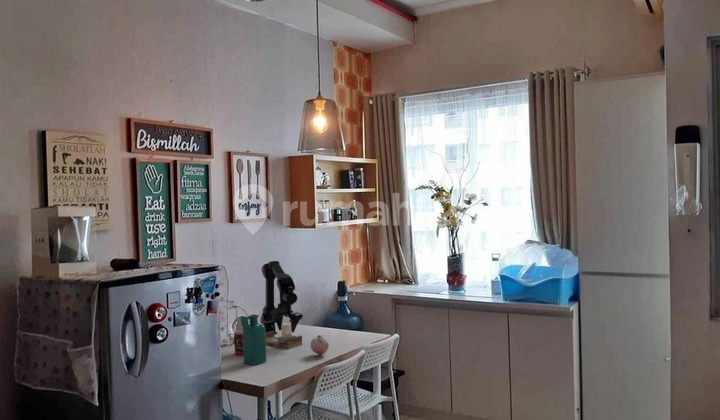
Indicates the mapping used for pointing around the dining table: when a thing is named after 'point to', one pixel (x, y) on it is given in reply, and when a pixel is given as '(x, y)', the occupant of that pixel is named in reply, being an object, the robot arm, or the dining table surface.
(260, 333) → the pitcher
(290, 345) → the base
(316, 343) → the decorative fruit
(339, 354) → the dining table surface
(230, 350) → the dining table surface
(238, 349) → the canned food
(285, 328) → the handle
